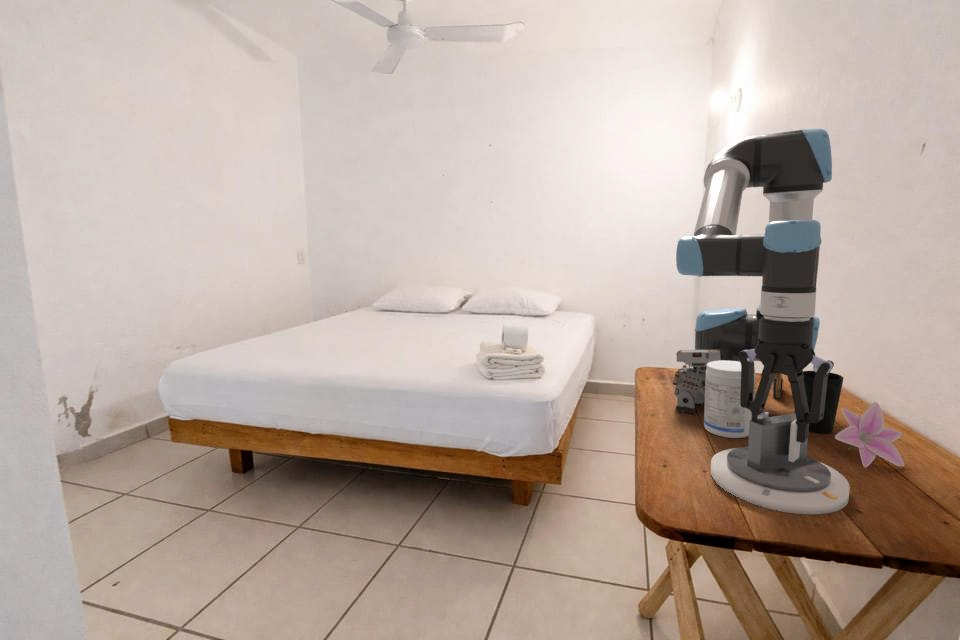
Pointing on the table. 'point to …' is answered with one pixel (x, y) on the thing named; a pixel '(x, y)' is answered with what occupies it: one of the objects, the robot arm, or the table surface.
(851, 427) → the lily
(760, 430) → the dial
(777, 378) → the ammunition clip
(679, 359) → the figurine
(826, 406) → the cup
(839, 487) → the dial base
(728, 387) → the supplement tub
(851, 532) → the table surface
